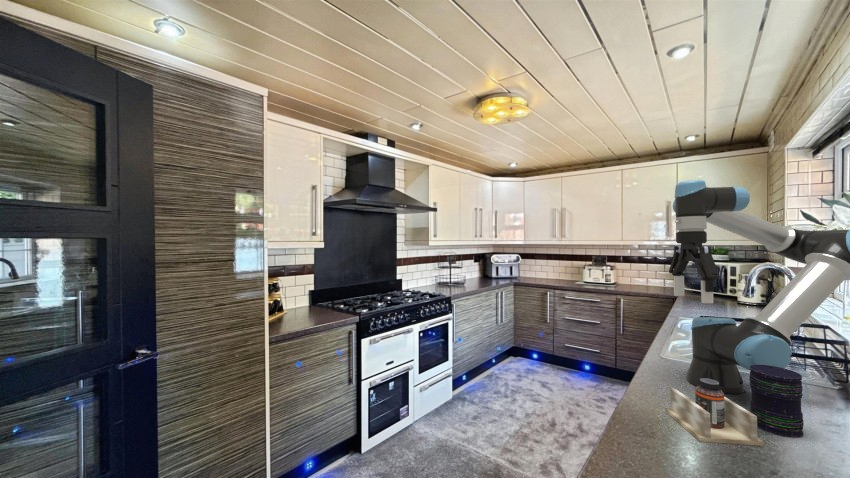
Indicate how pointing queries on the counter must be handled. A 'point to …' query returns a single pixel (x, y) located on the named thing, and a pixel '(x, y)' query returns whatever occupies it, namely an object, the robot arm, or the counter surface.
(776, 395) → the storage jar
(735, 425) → the docking cradle
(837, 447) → the counter surface
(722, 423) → the supplement bottle
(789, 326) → the robot arm
